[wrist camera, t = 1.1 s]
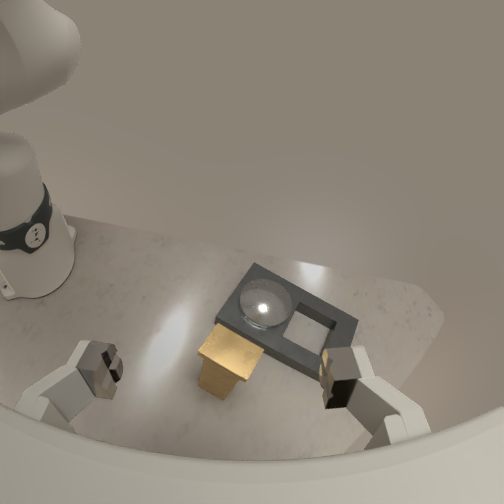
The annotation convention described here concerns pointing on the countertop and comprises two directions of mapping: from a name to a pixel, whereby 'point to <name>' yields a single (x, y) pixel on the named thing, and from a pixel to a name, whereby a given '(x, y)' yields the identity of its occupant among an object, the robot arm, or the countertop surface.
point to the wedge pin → (226, 361)
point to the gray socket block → (282, 318)
